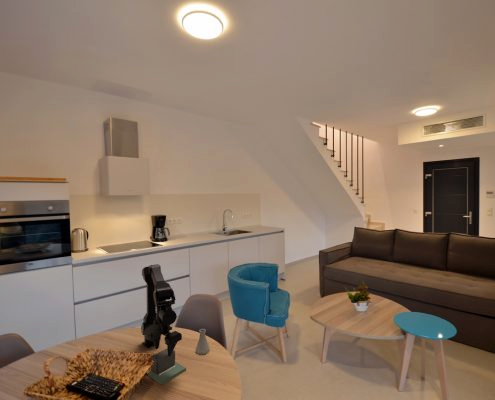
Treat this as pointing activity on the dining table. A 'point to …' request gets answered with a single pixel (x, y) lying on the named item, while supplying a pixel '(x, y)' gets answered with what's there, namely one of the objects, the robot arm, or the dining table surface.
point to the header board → (167, 373)
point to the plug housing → (162, 361)
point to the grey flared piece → (202, 343)
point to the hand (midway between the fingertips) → (163, 352)
